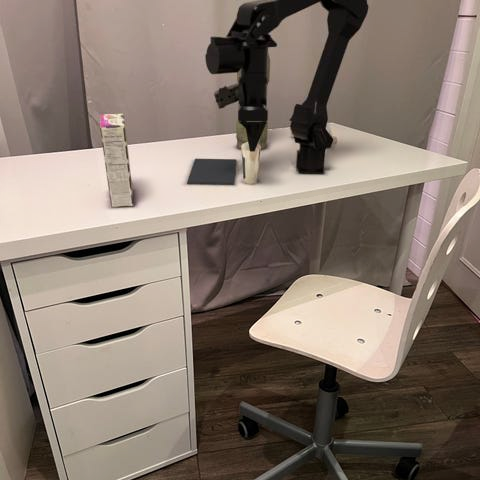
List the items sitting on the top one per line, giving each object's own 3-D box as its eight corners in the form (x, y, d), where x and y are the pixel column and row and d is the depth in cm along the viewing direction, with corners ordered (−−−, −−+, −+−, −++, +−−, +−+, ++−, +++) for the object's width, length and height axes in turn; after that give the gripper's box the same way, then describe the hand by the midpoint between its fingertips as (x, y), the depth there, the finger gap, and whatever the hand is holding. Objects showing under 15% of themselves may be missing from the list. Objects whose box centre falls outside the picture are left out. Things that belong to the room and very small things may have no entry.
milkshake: (265, 181, 124) (267, 137, 118) (250, 186, 120) (252, 141, 115) (251, 177, 126) (252, 134, 121) (236, 181, 123) (237, 138, 118)
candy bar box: (109, 191, 116) (99, 113, 107) (132, 190, 117) (124, 113, 108) (109, 208, 107) (99, 125, 98) (134, 207, 108) (125, 124, 99)
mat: (236, 161, 138) (236, 159, 137) (234, 185, 121) (234, 182, 121) (195, 160, 138) (195, 158, 138) (187, 184, 121) (187, 181, 121)
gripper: (218, 65, 119) (219, 136, 127) (213, 77, 103) (214, 156, 111) (267, 66, 119) (265, 136, 127) (269, 77, 103) (266, 157, 111)
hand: (252, 146), depth 119 cm, fingers open, 9 cm apart
